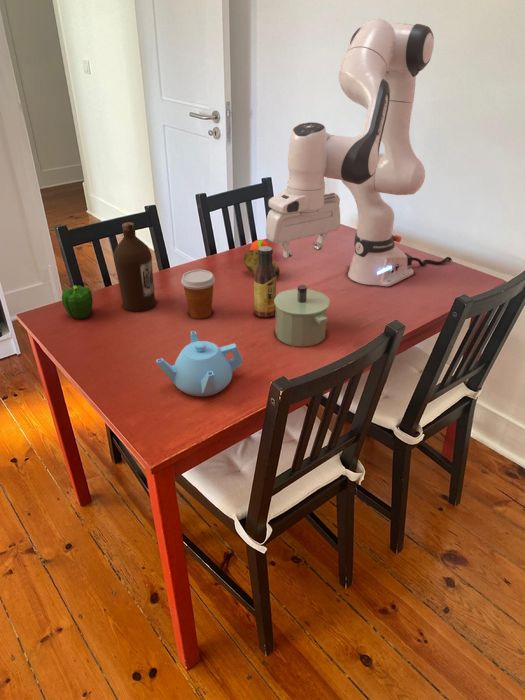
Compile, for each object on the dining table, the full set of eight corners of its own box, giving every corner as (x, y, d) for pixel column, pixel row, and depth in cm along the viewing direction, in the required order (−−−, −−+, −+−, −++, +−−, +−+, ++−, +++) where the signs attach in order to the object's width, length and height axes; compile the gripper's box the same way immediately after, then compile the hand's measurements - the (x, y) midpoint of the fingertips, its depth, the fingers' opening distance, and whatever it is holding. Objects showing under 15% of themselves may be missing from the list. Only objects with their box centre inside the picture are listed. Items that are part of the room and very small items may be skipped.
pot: (300, 313, 155) (301, 283, 150) (342, 341, 141) (344, 310, 136) (261, 325, 149) (260, 295, 144) (300, 356, 135) (301, 324, 130)
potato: (261, 285, 171) (261, 262, 166) (240, 272, 180) (239, 249, 175) (282, 279, 174) (282, 256, 170) (260, 266, 183) (260, 244, 179)
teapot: (212, 410, 117) (209, 369, 111) (157, 391, 123) (152, 351, 117) (246, 374, 128) (245, 336, 123) (194, 358, 134) (191, 321, 129)
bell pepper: (69, 309, 157) (62, 278, 152) (97, 307, 158) (91, 277, 153) (62, 322, 150) (55, 291, 145) (92, 321, 151) (85, 289, 146)
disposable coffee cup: (178, 318, 152) (174, 280, 146) (193, 303, 160) (190, 267, 153) (208, 323, 150) (205, 285, 143) (222, 308, 157) (220, 271, 151)
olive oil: (115, 310, 157) (101, 228, 143) (131, 294, 165) (119, 216, 152) (148, 314, 154) (137, 232, 141) (162, 298, 163) (153, 219, 150)
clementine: (269, 263, 185) (269, 244, 182) (250, 263, 185) (249, 244, 182) (269, 255, 192) (269, 236, 188) (250, 255, 192) (250, 236, 188)
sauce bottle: (271, 320, 151) (271, 254, 141) (251, 316, 153) (249, 251, 142) (278, 310, 156) (279, 246, 146) (259, 306, 158) (258, 243, 148)
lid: (307, 287, 149) (308, 271, 146) (340, 308, 138) (342, 290, 135) (263, 300, 142) (263, 283, 139) (295, 323, 132) (295, 304, 129)
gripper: (331, 188, 132) (328, 241, 140) (262, 201, 123) (262, 257, 130) (348, 194, 128) (343, 249, 135) (277, 208, 119) (276, 265, 126)
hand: (303, 253), depth 133 cm, fingers open, 8 cm apart
